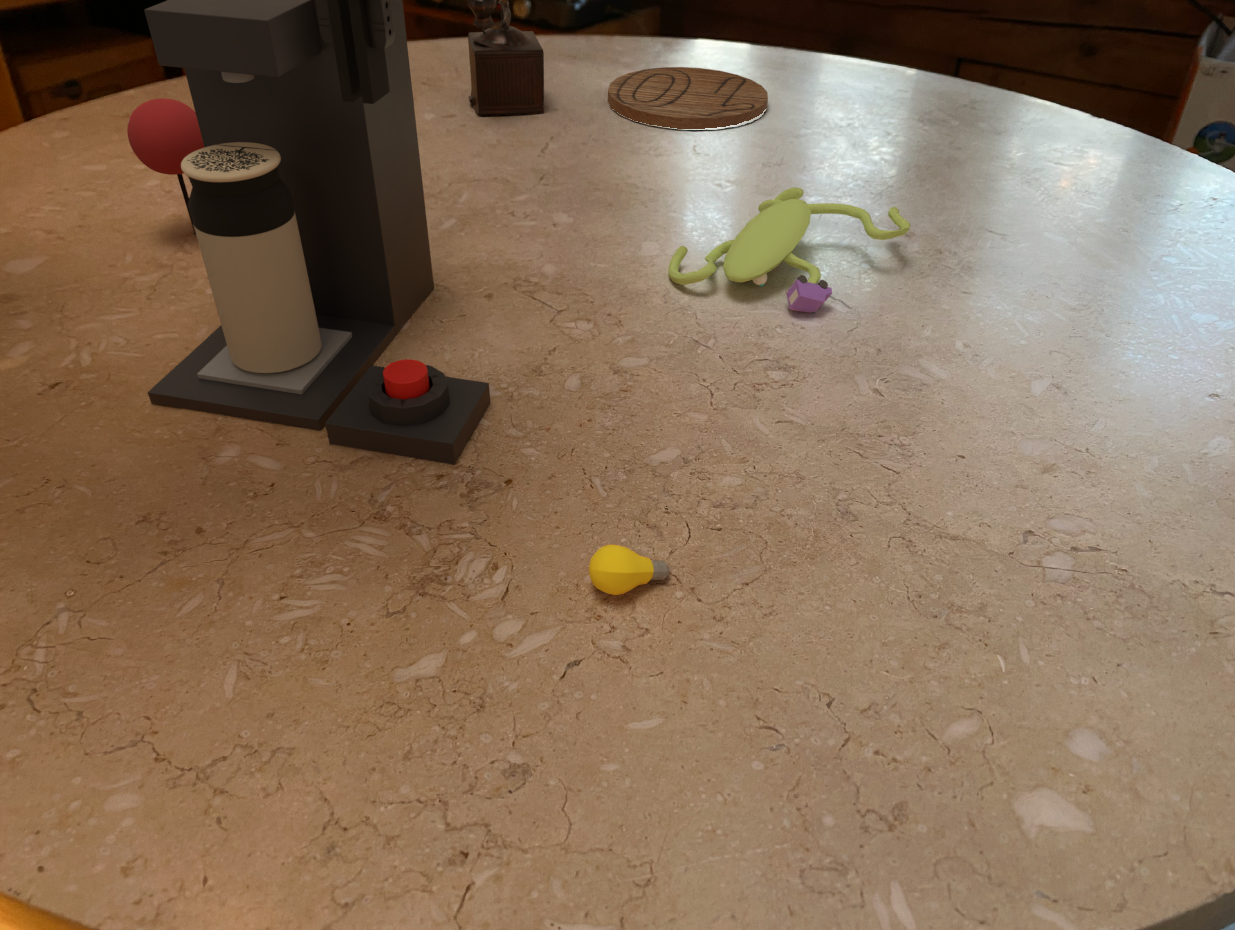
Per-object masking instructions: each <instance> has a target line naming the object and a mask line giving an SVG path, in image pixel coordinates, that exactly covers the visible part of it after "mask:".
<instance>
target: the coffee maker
mask: <svg viewBox="0 0 1235 930" xmlns="http://www.w3.org/2000/svg"><path fill="white" fill-rule="evenodd" d="M391 5H392V14H393V22H394V31H395V37H394V41H393V43H392V44H391V45H389V46H388V47H386V48H385V56H386V64H387V72H388V80H389V88H390V92H389V93H388V94H386V95H385V96H384V97H382V98H381V99H380V100H378V101H377V102H376V103H374V104H367V103H363V101H362V96H361V97H359V98H358V99H357V100H355V101H354V102H348V101H343V100H342V94H341V87H340V81H339V75H338V68H337V62H336V55H335V49H334V44H325V43H324V41H323V39H322V37H321V34H320V27H319V26H320V25H319V21H318V15H317V9H316V3H315V0H165V1H162V2H160V3H157V4H154V5H152V6H150V7H147V8H145V9H144V14H145V18H146V22H147V25H148V30H149V33H150V36H151V40H152V44H153V47H154V51H155V55H156V59H157V62H158V66H161V67H171V68H178V69H179V68H181V69H183V70H184V72H185V78H186V81H187V85H188V88H189V93H190V96H191V100H192V104H193V110H194V111H195V113H196V116H197V120H198V124H199V128H200V132H201V136H202V140H203V144H204V148H205V147H208V146H212V145H217V144H223V143H233V142H250V143H259V144H264V145H267V146H270V147H272V148H274V149H275V150H277V151H278V152H279V154H280V157H281V160H280V163H279V165H278V172H279V177H280V178H281V180H282V181H283V182H284V183H285V185H286V186H287V187H288V188H289V190H290V191H291V195H292V200H293V205H294V210H295V215H296V220H297V225H298V230H299V234H300V239H301V244H302V249H303V254H304V259H305V264H306V269H307V274H308V279H309V284H310V288H311V293H312V298H313V303H314V308H315V313H316V318H317V323H318V328H319V333H320V338H321V343H322V346H321V349H320V351H319V353H318V354H317V355H316V356H315V357H314V358H313V359H312V360H310V361H309V362H307V363H305V364H303V365H301V366H299V367H296V368H294V369H291V370H288V371H283V372H275V373H256V372H250V371H246V370H243V369H241V368H239V367H237V366H236V365H235V364H234V363H233V362H232V360H231V358H230V354H229V351H228V347H227V344H226V340H225V336H224V333H223V329H222V326H221V325H220V326H219V327H217V328H216V329H215V330H214V331H213V332H212V333H211V334H210V335H208V336H207V337H206V338H205V339H204V340H202V342H201V343H200V344H198V346H196V347H195V348H194V349H193V350H192V351H191V352H190V353H189V354H188V355H187V356H185V358H183V359H182V360H181V361H180V362H179V363H178V364H177V365H176V366H175V367H173V368H172V369H171V370H170V371H168V373H167V374H165V376H164V377H163V378H161V380H159V381H158V382H157V383H156V384H155V385H154V386H153V387H152V388H150V390H148V391H147V395H148V398H149V401H150V404H152V405H158V406H164V407H170V408H177V409H184V410H190V411H196V412H202V413H208V414H213V415H214V414H215V415H221V416H227V417H233V418H239V419H246V420H252V421H257V422H258V421H259V422H264V423H269V424H270V423H271V424H276V425H283V426H289V427H293V428H295V427H296V428H301V429H307V430H314V431H319V432H320V431H322V430H323V429H324V427H326V425H325V423H326V422H327V420H328V419H329V418H330V417H331V415H332V414H333V413H334V412H335V410H336V409H337V408H338V406H339V405H340V404H341V403H342V401H343V400H344V399H345V398H346V396H347V395H348V394H349V393H350V391H351V390H352V389H353V388H354V386H355V385H356V384H357V383H358V381H359V380H360V379H361V378H362V376H363V375H364V374H365V373H366V371H367V370H368V369H369V368H370V366H371V365H372V366H375V365H374V364H375V363H376V362H377V361H378V360H379V358H380V357H381V356H382V355H383V353H384V352H385V351H386V350H387V348H388V347H389V346H390V344H391V343H393V340H394V339H396V337H397V336H398V334H399V333H400V332H401V331H402V329H403V328H404V327H405V325H407V323H408V322H409V321H410V319H411V318H412V317H413V315H414V314H415V313H416V312H417V310H418V309H419V308H420V307H421V306H422V304H423V303H424V302H425V300H426V299H428V297H429V296H430V294H431V293H432V292H433V291H434V289H435V284H434V283H435V282H434V276H433V265H432V257H431V247H430V240H429V229H428V219H427V210H426V202H425V193H424V184H423V183H424V182H423V176H422V175H423V174H422V165H421V158H420V157H421V156H420V148H419V147H420V145H419V138H418V129H417V120H416V112H415V102H414V94H413V93H414V92H413V83H412V75H411V65H410V56H409V49H408V48H409V47H408V38H407V30H406V20H405V12H404V1H403V0H391Z"/></svg>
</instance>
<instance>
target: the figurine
mask: <svg viewBox="0 0 1235 930" xmlns="http://www.w3.org/2000/svg"><path fill="white" fill-rule="evenodd" d="M803 196H804V189H802V188H801V187H795V186H794V187H790V188H787V189H784V190H783V191H782V192H780V193H779V194H778V195H777V196H776V197H775V198H774V199H767V200H764V201H762V202H761V203H760V204H758V208H757V209H758V211H759V213H758V214H756V215H755V216H754V217H753V218H752V219H750V220H749V221H748V222H747V223H746V224H745V225H744V227H743V228H742V229H741V230H740V231H739V233H738V234H737V235H736V236H735V238H733V239H730V240H727V241H724V242H722V243H720V244H719V245H717V246H716V247H715V248H713V249H711V251H710V252H709V253H708V254H707V255H706V256H705V257H704V260H705V262H707V263H706V264H705V266H703V267H702V268H700V269H698V270H695V271H690V272H685V273H682V272H679V269H680V265H681V263H682V261H683V260H684V258H685V257H686V256H687V254H688V251H689V250H688V248H687V247H686V246H685V245H681V246H679V247H678V248H677V249H676V250H675V252H674V253H673V255H672V257H671V259H670V260H669V265H668V271H667V272H668V277H669V279H670V280H671V281H672V282H673V283H675V284H677V285H681V286H687V285H692V284H696V283H700V282H702V281H705V280H706V279H708V278H710V277H711V276H712V275H714V274H715V273H716V272H717V267H716V265H715V262H716V261H718V259H720V258H721V257H723V256H724V261H723V265H722V270H723V272H724V274H725V277H726V279H728V280H729V281H730V282H731V281H732V282H735V283H745V282H748V281H752V282H753V283H754V284H755V285H756V286H759V287H763V286H764V285H765V284H766V283H767V280H768V273H769V272H771V271H772V270H774V269H776V268H777V267H779V265H780V264H781V263H782V262H785V264H787V265H788V266H790V267H793V268H796V269H799V270H801V271H804V272H807V273H808V276H809V278H808V277H807V276H805V275H804V274H800V275H798V277H796V280H795V281H794V282H793V283H792V285H790V287H789V288H788V290H785V295H786V299H787V303H788V308H789V310H792V311H797V312H805V313H810V314H812V313H811V312H815V313H816V312H817V311H818V310H819V309H820V307H822V305H823V304H824V303H825V302H826V301H827V300H828V299H829V298H830V297H831V295H833V288H832V287H829V284H828V282H827V281H826V280H824V279H821V278H822V273H821V270H820V268H819V267H818V266H816V265H814V264H813V263H811V262H808V261H806V260H804V259H802V258H800V257H797V256H796V255H795V254H794V253H793V251H794V249H796V247H797V245H798V244H799V243H800V242H801V240H802V239H803V238H804V236H805V234H806V232H807V230H808V228H809V226H810V223H811V215H827V214H829V215H830V214H832V215H843V216H848V217H851V218H855V219H858V220H859V221H860V222H861V223H862V225H863V228H864V231H865V233H866V235H867V236H868V237H869V238H871V239H873V240H879V241H885V240H892V239H895V238H898V237H902V236H904V235H906V234H907V233H908V232H909V231H910V228H911V223H910V222H909V221H908V220H907V219H905V218H904V217H903V216H902V215H901V214H900V209H899V208H898V207H897V206H892V207H891V208H889V210H888V212H887V213H888V215H887V216H888V217H889V219H890V220H891V221H892V223H894V225H896V227H898V229H896V230H885V229H880V228H878V227H876V226H875V224H874V223H873V221H872V217H871V215H870V213H869V212H868V211H867V210H866V209H865V208H861V207H858V206H854V205H852V204H845V203H832V202H831V203H830V202H829V203H828V202H827V203H826V202H825V203H824V202H822V203H821V202H819V203H807V202H806V201H805V200H803V199H801V198H802V197H803Z"/></svg>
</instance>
